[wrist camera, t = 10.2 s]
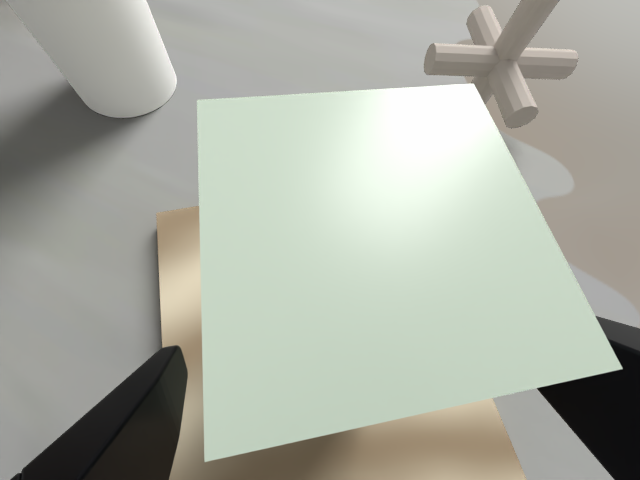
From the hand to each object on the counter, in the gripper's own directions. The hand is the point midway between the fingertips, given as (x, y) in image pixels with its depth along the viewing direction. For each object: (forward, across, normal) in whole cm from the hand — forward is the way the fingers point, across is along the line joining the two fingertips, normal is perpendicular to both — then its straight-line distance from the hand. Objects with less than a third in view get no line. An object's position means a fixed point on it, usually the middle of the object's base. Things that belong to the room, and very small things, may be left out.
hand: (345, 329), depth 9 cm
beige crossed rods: (+18, -15, -5) cm, 24 cm away
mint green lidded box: (+6, 0, +5) cm, 8 cm away
